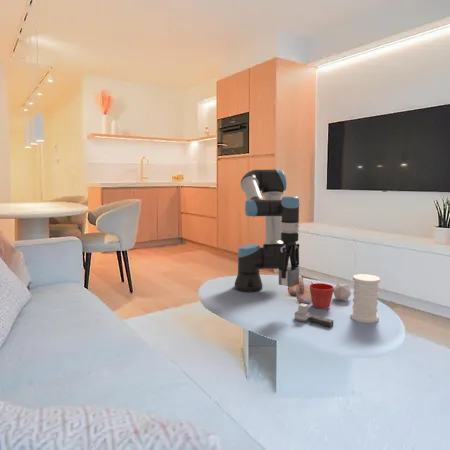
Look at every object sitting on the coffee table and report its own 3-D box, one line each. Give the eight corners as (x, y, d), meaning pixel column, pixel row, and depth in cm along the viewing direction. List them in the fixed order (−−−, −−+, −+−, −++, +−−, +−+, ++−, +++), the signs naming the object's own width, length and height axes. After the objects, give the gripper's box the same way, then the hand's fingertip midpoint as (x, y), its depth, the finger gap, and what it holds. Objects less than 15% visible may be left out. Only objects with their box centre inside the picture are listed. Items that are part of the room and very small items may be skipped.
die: (342, 305, 185) (354, 289, 185) (327, 293, 189) (339, 278, 189) (344, 305, 192) (356, 290, 192) (330, 294, 196) (341, 279, 196)
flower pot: (317, 300, 189) (317, 281, 188) (337, 306, 182) (338, 286, 180) (304, 306, 182) (305, 285, 181) (325, 312, 174) (326, 291, 173)
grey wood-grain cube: (278, 284, 171) (278, 268, 170) (286, 281, 176) (286, 266, 175) (291, 286, 167) (291, 271, 166) (298, 283, 172) (299, 268, 171)
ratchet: (291, 319, 165) (292, 305, 164) (299, 315, 171) (299, 301, 170) (328, 329, 155) (328, 314, 154) (335, 324, 160) (335, 309, 160)
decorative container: (376, 325, 160) (378, 282, 157) (347, 319, 165) (349, 278, 163) (380, 315, 170) (382, 275, 167) (353, 311, 175) (355, 272, 173)
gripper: (285, 235, 159) (284, 290, 161) (308, 230, 173) (306, 280, 176) (270, 233, 163) (269, 286, 166) (293, 228, 178) (292, 277, 181)
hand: (288, 283), depth 171 cm, fingers closed on grey wood-grain cube, 6 cm apart
